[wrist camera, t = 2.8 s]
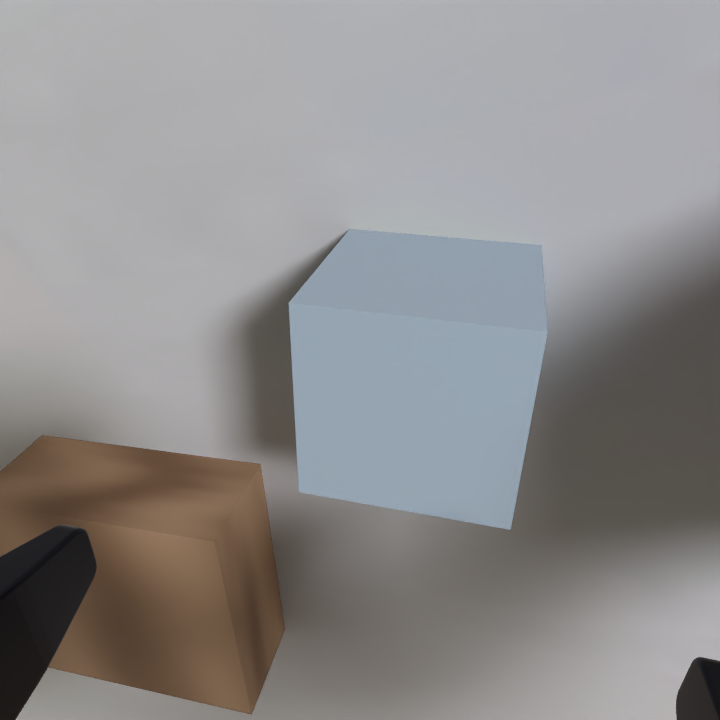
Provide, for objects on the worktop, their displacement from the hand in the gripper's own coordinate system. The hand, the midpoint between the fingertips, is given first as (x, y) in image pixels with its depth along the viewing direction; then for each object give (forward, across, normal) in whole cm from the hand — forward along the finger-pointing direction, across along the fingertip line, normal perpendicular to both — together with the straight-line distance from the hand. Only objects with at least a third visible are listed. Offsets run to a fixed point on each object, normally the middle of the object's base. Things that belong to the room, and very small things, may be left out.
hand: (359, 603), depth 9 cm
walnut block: (+10, +10, +11) cm, 18 cm away
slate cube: (+10, 0, 0) cm, 10 cm away
